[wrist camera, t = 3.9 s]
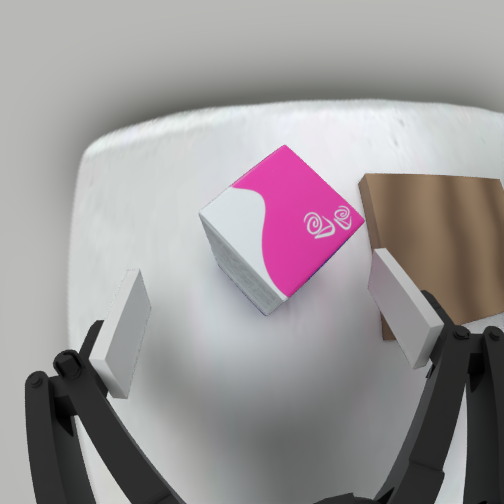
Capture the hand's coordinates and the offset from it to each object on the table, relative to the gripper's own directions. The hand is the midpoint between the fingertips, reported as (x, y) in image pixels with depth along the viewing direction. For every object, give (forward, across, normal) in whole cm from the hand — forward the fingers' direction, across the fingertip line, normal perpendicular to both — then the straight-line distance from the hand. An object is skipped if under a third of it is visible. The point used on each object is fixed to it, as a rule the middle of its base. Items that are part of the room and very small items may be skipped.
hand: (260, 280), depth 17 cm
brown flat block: (+7, +19, -4) cm, 21 cm away
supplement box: (+7, +1, -4) cm, 8 cm away
